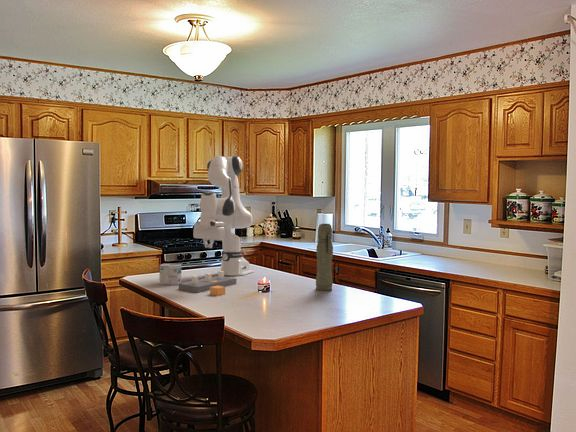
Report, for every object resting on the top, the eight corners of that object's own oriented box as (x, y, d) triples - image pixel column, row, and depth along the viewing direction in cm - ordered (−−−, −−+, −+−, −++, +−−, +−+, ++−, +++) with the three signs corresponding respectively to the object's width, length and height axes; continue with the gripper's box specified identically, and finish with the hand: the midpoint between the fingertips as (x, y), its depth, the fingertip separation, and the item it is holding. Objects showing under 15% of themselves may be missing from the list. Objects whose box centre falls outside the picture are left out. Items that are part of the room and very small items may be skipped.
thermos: (323, 292, 273) (324, 225, 270) (311, 288, 283) (312, 223, 280) (337, 290, 277) (338, 224, 275) (324, 286, 287) (325, 222, 285)
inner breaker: (220, 278, 293) (220, 270, 293) (224, 278, 292) (224, 271, 291) (217, 278, 291) (217, 271, 291) (221, 279, 290) (221, 271, 289)
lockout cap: (217, 292, 268) (217, 285, 268) (225, 293, 265) (225, 286, 265) (210, 294, 264) (210, 287, 264) (218, 295, 261) (218, 288, 261)
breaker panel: (217, 280, 300) (217, 275, 299) (236, 283, 292) (236, 278, 291) (178, 289, 275) (178, 283, 275) (197, 292, 267) (197, 286, 267)
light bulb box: (181, 282, 293) (181, 263, 292) (178, 285, 286) (178, 265, 286) (163, 282, 294) (163, 263, 294) (159, 284, 288) (159, 264, 287)
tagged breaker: (208, 280, 285) (208, 273, 285) (211, 281, 284) (211, 273, 283) (205, 281, 283) (205, 273, 283) (208, 281, 282) (208, 274, 281)
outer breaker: (195, 283, 277) (195, 275, 276) (198, 284, 275) (198, 276, 275) (191, 284, 275) (191, 276, 275) (195, 284, 273) (195, 276, 273)
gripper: (190, 221, 285) (190, 246, 286) (218, 223, 273) (218, 249, 274) (198, 220, 290) (198, 245, 291) (226, 222, 278) (226, 248, 279)
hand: (208, 247), depth 282 cm, fingers closed
